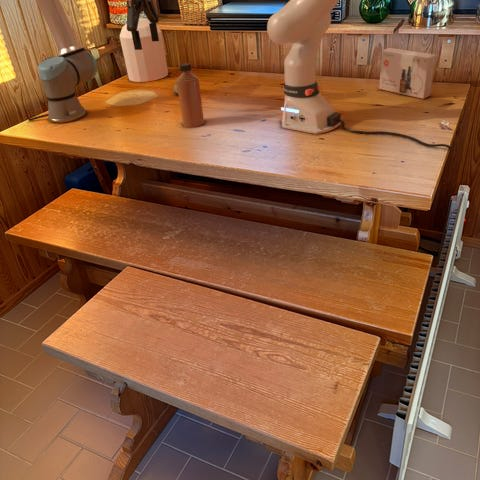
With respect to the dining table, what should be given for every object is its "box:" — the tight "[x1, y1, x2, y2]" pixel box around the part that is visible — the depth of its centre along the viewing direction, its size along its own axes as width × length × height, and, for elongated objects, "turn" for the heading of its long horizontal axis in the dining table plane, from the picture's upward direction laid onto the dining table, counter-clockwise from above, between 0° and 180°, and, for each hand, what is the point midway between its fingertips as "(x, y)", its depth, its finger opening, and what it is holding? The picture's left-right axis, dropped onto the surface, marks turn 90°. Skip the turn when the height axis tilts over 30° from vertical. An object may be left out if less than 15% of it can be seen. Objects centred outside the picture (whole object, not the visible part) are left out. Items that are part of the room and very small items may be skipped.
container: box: [119, 17, 169, 83], centre depth 235 cm, size 21×21×28 cm
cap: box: [179, 62, 192, 73], centre depth 168 cm, size 4×4×2 cm
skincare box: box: [378, 47, 437, 100], centre depth 184 cm, size 21×6×16 cm, turn 40°
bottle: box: [175, 70, 205, 128], centre depth 174 cm, size 8×8×22 cm
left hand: (147, 45), depth 178 cm, fingers open, 13 cm apart
